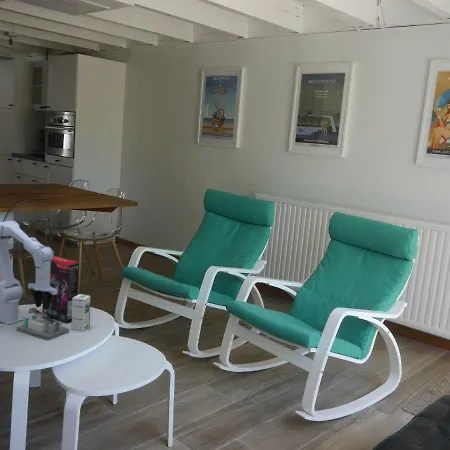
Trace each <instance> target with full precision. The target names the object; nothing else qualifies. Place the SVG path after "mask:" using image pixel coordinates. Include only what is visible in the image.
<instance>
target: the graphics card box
mask: <svg viewBox="0 0 450 450" xmlns="http://www.w3.org/2000/svg"><path fill="white" fill-rule="evenodd" d="M79 271H80V262H79V261H76V260H75V261H74V260H72V259H67V258H63V257H60V256H56V255H54V257H53V259H52V260H51V264H50V286H51V287H53V288H54V289H57V294H55V295H53V297H52V298H51V300H50V303H49V306H48V309H45V310H44V309H43V304H41V308H42V311H41V312H44V313H45V314H47V315H46V316H48V317H50V318H51V319H53V320H57V321H60V322H62V323H70V322H71V323H72V298H73V297H75V296H77V295H79V276H80V272H79ZM43 293H45V292H43Z"/></svg>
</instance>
